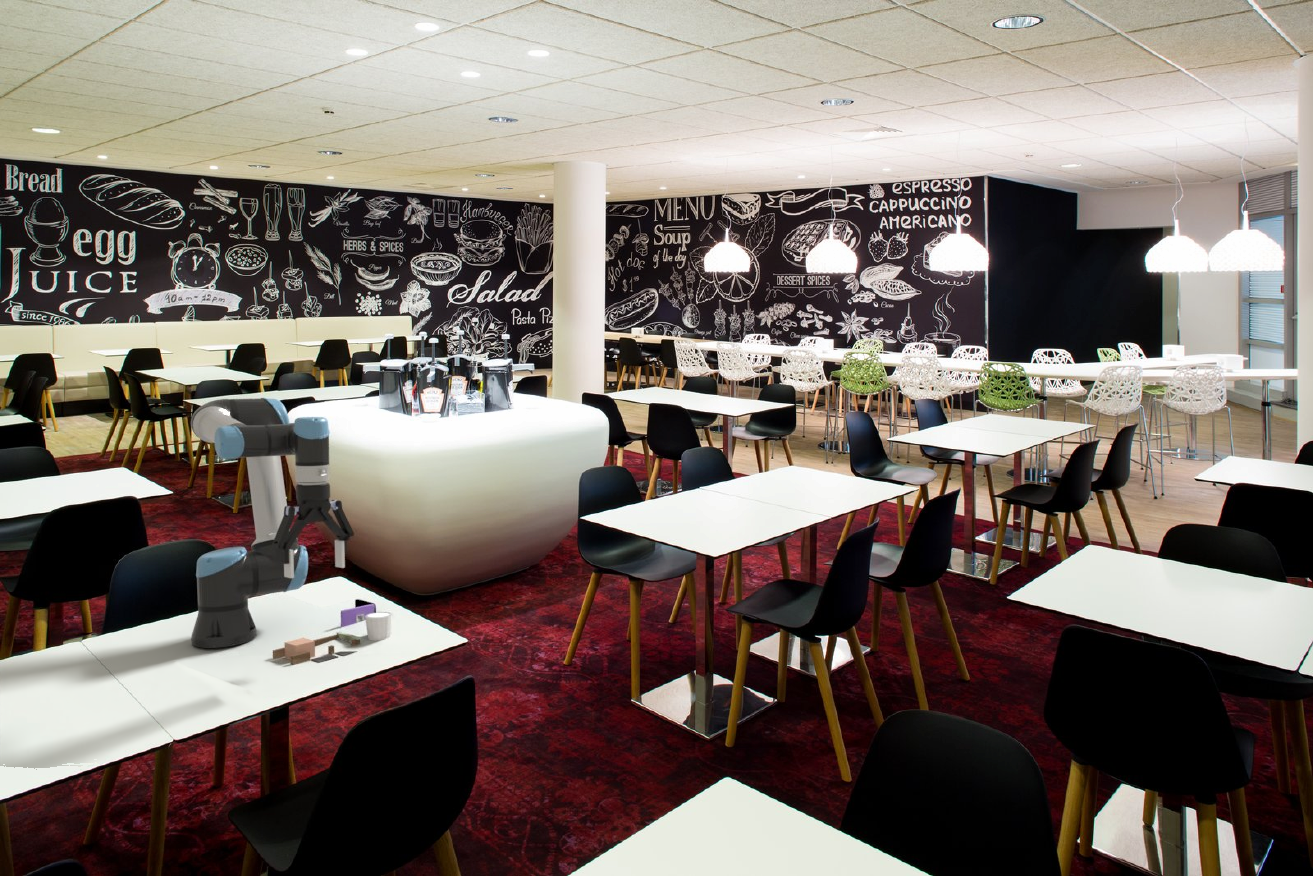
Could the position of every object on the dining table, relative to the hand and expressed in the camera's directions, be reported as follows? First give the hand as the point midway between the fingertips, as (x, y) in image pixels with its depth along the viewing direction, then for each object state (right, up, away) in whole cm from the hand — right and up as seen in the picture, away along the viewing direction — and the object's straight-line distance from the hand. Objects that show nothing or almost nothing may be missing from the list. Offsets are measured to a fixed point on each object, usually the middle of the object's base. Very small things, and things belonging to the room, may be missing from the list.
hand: (315, 572), depth 215 cm
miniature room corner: (-3, -21, +34) cm, 40 cm away
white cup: (+9, -21, +21) cm, 31 cm away
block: (-6, -22, +7) cm, 24 cm away
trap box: (-2, -22, +10) cm, 24 cm away
